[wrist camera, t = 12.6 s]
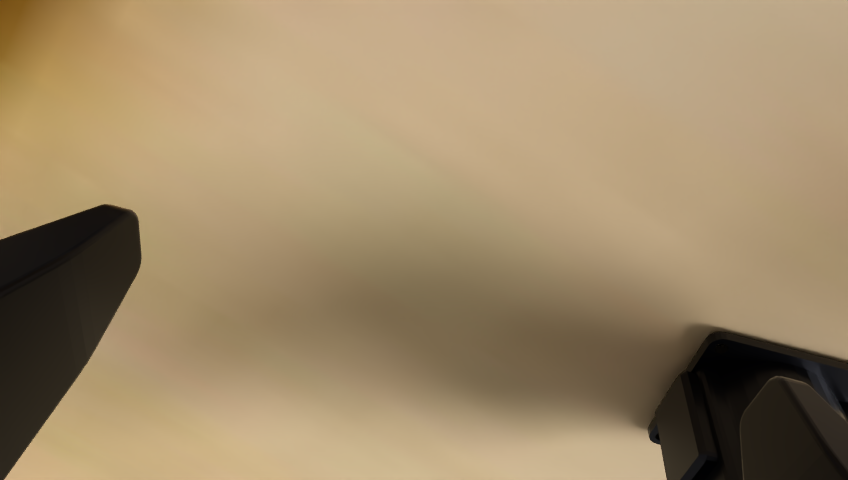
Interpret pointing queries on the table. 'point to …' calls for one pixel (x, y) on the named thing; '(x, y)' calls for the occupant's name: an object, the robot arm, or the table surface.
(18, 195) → the table surface
